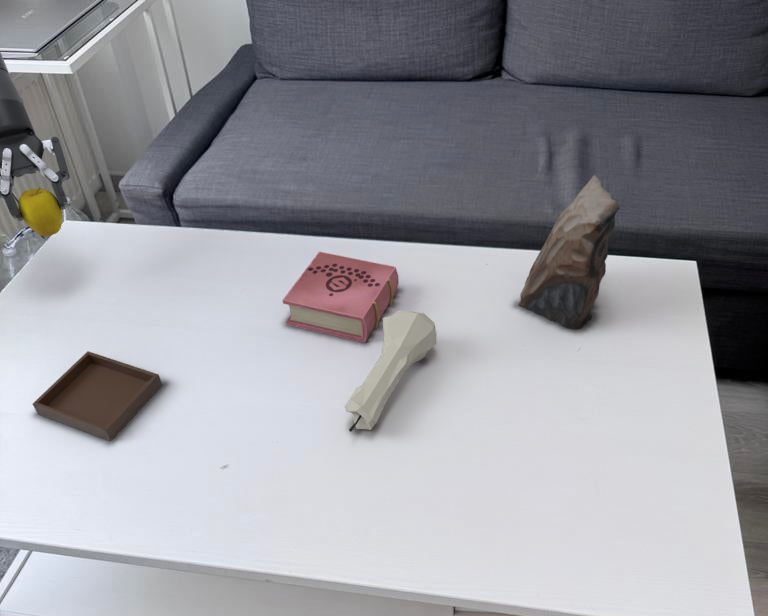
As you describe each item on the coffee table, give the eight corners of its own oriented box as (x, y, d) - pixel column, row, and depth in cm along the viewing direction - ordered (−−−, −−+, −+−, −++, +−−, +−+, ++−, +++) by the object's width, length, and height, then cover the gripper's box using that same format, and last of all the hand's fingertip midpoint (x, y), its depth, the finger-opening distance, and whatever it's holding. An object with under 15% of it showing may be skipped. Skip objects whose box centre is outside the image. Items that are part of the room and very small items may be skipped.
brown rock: (569, 275, 131) (589, 164, 115) (622, 311, 125) (652, 198, 109) (515, 303, 127) (528, 192, 111) (567, 341, 120) (589, 229, 105)
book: (369, 343, 122) (368, 319, 118) (286, 324, 126) (282, 300, 122) (401, 292, 130) (400, 267, 126) (322, 275, 134) (319, 251, 130)
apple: (75, 234, 125) (56, 189, 118) (37, 247, 123) (17, 202, 116) (63, 217, 128) (44, 172, 122) (26, 230, 126) (5, 185, 120)
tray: (38, 414, 116) (32, 403, 114) (92, 361, 123) (87, 350, 121) (110, 441, 111) (105, 430, 110) (162, 385, 118) (158, 374, 117)
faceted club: (451, 342, 120) (385, 454, 108) (405, 340, 124) (336, 447, 112) (437, 296, 114) (365, 409, 101) (389, 296, 118) (315, 404, 106)
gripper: (-55, 109, 113) (-9, 218, 116) (41, 87, 116) (83, 194, 119) (-42, 129, 120) (1, 232, 123) (48, 108, 123) (88, 209, 126)
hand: (42, 213), depth 121 cm, fingers closed on apple, 6 cm apart
